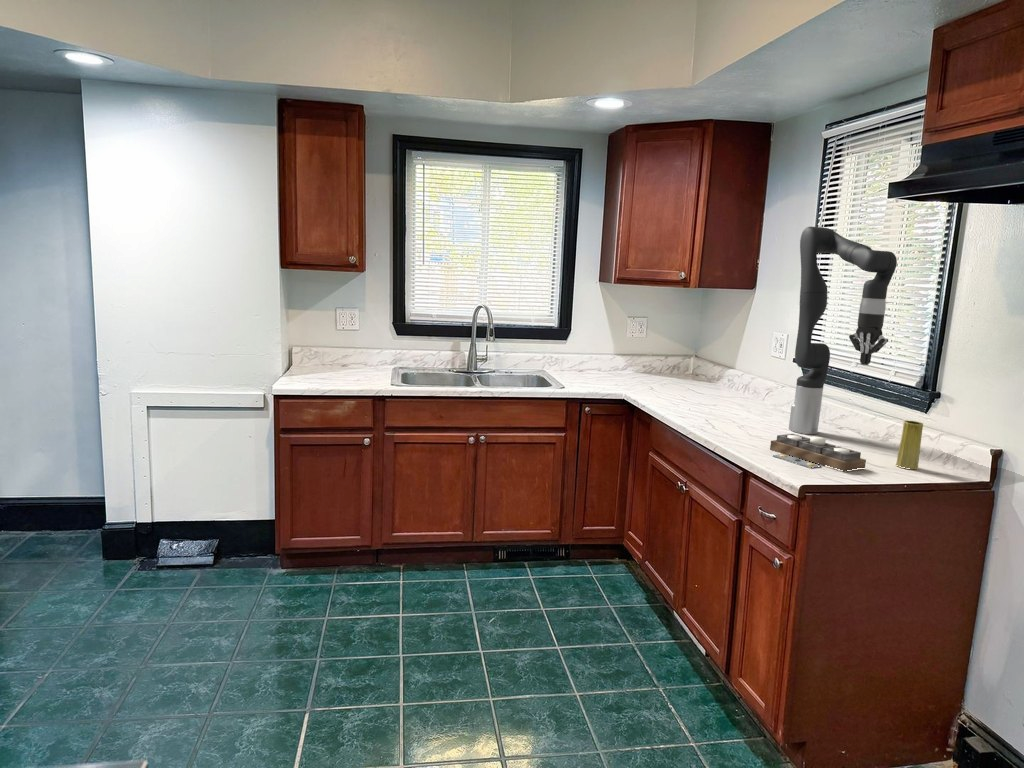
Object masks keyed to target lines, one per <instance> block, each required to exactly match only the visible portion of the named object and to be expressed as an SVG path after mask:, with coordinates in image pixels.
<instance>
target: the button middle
mask: <svg viewBox="0 0 1024 768" xmlns="http://www.w3.org/2000/svg"><path fill="white" fill-rule="evenodd" d="M809 438H810V444H813V445H816V446H825V443H826V440H827V439H826V438H825V437H821V436H813V435H811V436H810V437H809Z"/></svg>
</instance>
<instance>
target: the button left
mask: <svg viewBox="0 0 1024 768" xmlns="http://www.w3.org/2000/svg"><path fill="white" fill-rule="evenodd" d="M796 435H797V434H795V435H788V436H787V437H788V438H792V439H795V440H799V439H802V437H800V436H801V435H799V436H796Z"/></svg>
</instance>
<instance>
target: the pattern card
mask: <svg viewBox="0 0 1024 768" xmlns="http://www.w3.org/2000/svg"><path fill="white" fill-rule="evenodd" d="M772 457H773V458H777V459H779V460H782V459H783V460H782V461H785V460H787V461H786V462H789V461H790V463H792V462H793V463H792V464H795V463H797V464H796V465H798V464H800V465H799V466H801V465H803V466H802V467H804V466H807V467H806V468H808V467H818V466H822V465H818V464H815V463H812V462H809V461H805V460H802V459H799V458H796V457H792V456H789V455H786V454H783V453H780V454H779V453H778V454H772ZM818 468H819V467H818Z"/></svg>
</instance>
